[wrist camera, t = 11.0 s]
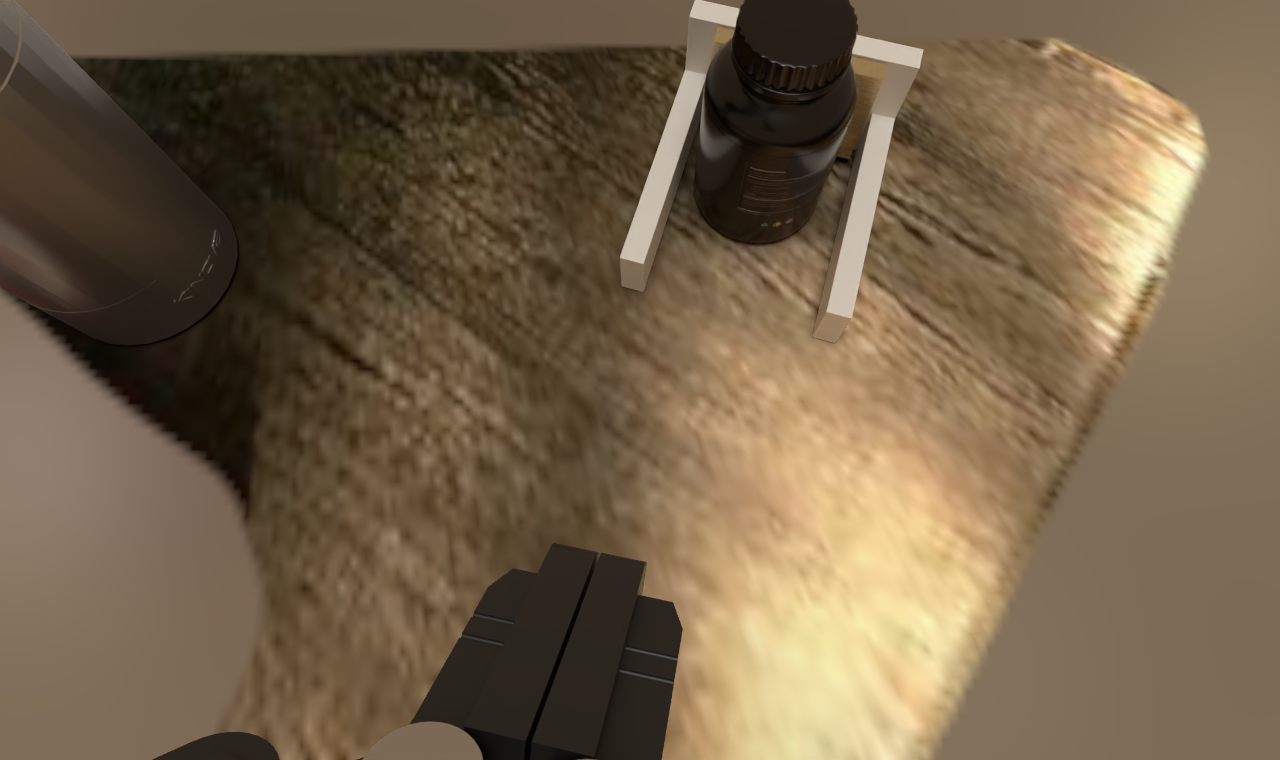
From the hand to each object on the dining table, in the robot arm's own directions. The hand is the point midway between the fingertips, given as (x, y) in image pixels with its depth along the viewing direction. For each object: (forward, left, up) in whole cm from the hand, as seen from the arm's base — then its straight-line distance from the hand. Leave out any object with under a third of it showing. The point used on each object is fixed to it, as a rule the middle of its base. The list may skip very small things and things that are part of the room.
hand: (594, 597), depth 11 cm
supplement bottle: (0, +23, -22) cm, 32 cm away
